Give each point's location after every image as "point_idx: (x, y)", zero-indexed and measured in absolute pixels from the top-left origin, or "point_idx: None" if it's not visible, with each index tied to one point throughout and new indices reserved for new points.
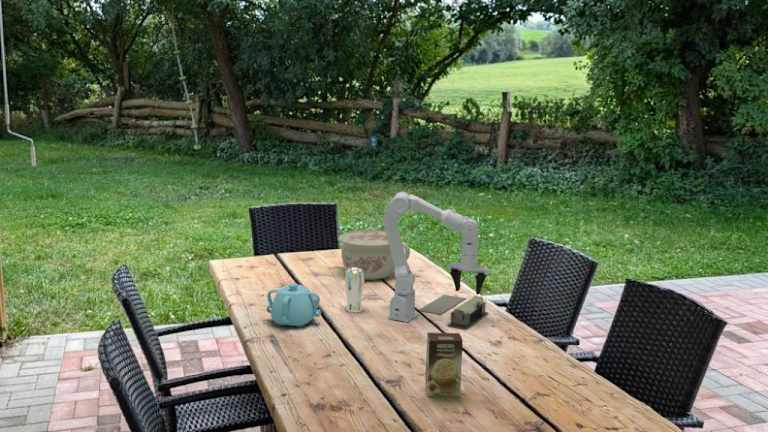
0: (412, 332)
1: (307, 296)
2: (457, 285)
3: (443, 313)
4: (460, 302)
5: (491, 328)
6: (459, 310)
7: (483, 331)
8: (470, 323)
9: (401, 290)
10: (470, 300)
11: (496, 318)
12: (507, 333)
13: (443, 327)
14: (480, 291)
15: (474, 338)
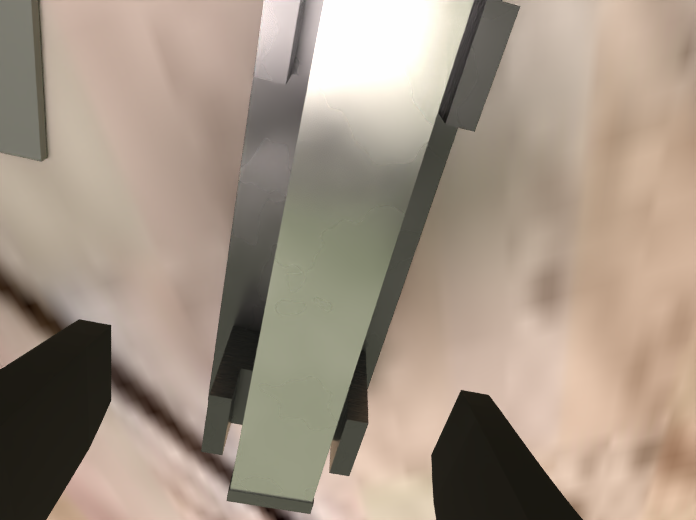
0: (58, 509)
1: None
2: (54, 485)
3: (43, 100)
4: None
5: (534, 344)
6: (281, 506)
7: None
8: (368, 332)
9: None
10: (314, 184)
11: (598, 87)
12: (644, 399)
13: (193, 406)
14: (501, 415)
15: (426, 505)
